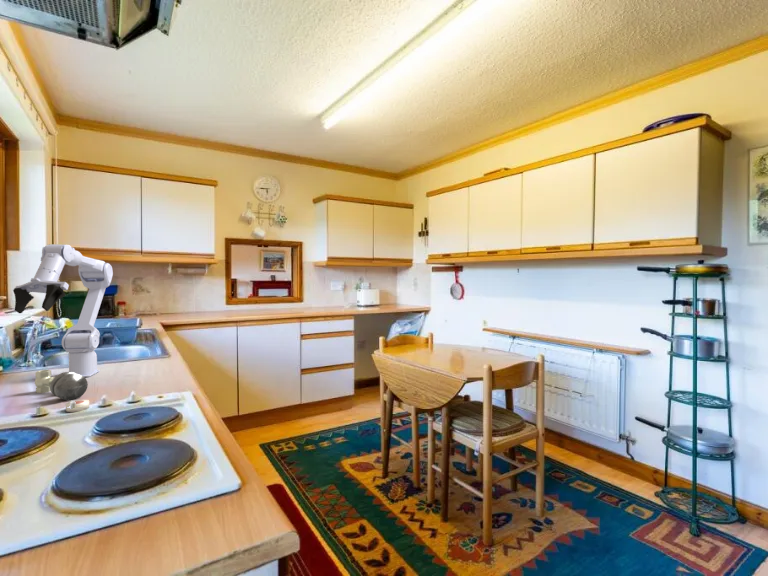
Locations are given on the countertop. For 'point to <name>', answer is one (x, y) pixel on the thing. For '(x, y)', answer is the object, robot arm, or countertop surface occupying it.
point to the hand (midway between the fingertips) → (31, 310)
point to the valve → (43, 381)
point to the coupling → (68, 386)
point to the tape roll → (79, 402)
